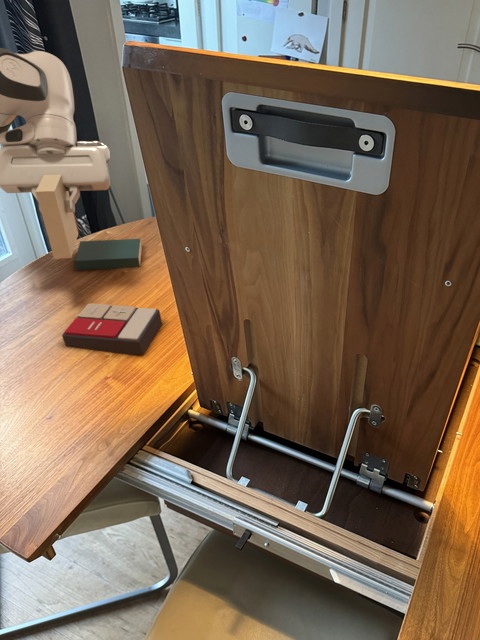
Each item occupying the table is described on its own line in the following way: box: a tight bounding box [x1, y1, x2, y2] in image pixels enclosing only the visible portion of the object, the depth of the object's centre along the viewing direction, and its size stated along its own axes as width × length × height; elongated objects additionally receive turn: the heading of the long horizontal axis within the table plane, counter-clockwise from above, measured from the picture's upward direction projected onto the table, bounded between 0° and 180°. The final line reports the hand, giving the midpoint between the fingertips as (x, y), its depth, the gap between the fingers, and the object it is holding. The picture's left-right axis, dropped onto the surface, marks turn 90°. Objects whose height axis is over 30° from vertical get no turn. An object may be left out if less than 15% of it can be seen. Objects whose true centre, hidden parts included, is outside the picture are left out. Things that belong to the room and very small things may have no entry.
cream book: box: [36, 175, 80, 259], centre depth 99 cm, size 3×11×13 cm, turn 10°
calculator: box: [61, 302, 163, 357], centre depth 98 cm, size 11×4×15 cm
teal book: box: [74, 238, 143, 271], centre depth 121 cm, size 14×10×3 cm
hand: (57, 211), depth 98 cm, fingers closed on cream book, 3 cm apart
